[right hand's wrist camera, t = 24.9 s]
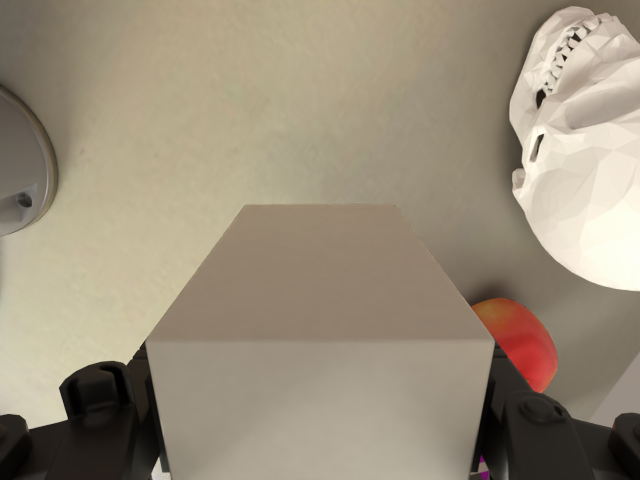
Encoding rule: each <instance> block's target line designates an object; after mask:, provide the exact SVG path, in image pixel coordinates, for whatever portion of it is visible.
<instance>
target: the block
mask: <svg viewBox="0 0 640 480" xmlns="http://www.w3.org/2000/svg"><path fill="white" fill-rule="evenodd" d="M145 345H146V350H147V355H148V361H149V366H150V371H151V376H152V382H153V387H154V392H155V397H156V402H157V408H158V413H159V418H160V423H161V428H162V434H163V439H164V444H165V449H166V455H167V460H168V465H169V470H170V475H171V480H469V478H470V472H471V467H472V462H473V457H474V451H475V446H476V441H477V435H478V430H479V425H480V420H481V414H482V409H483V404H484V399H485V393H486V388H487V383H488V378H489V372H490V367H491V362H492V356H493V351H494V346H495V340H494V338H493V337H492V336H491V334H490V333H489V331H488V330H487V329H486V327H485V326H484V325H483V323H482V322H481V321H480V319H479V318H478V317H477V315H476V314H475V312H474V311H473V310H472V308H471V307H470V306H469V304H468V303H467V302H466V300H465V299H464V298H463V296H462V295H461V294H460V292H459V291H458V289H457V288H456V287H455V285H454V284H453V283H452V281H451V280H450V279H449V277H448V276H447V275H446V273H445V272H444V270H443V269H442V268H441V266H440V265H439V264H438V262H437V261H436V260H435V258H434V257H433V256H432V254H431V253H430V251H429V250H428V249H427V247H426V246H425V245H424V243H423V242H422V241H421V239H420V238H419V237H418V235H417V234H416V233H415V231H414V230H413V228H412V227H411V226H410V224H409V223H408V222H407V220H406V219H405V218H404V216H403V215H402V214H401V212H400V211H399V209H398V208H397V207H396V205H245V206H244V207H243V208H242V210H241V211H240V212H239V214H238V215H237V217H236V218H235V219H234V221H233V222H232V223H231V225H230V226H229V227H228V229H227V230H226V231H225V233H224V234H223V236H222V237H221V238H220V240H219V241H218V242H217V244H216V245H215V246H214V248H213V249H212V250H211V252H210V253H209V255H208V256H207V257H206V259H205V260H204V261H203V263H202V264H201V265H200V267H199V268H198V269H197V271H196V272H195V274H194V275H193V276H192V278H191V279H190V280H189V282H188V283H187V284H186V286H185V287H184V289H183V290H182V291H181V293H180V294H179V295H178V297H177V298H176V299H175V301H174V302H173V303H172V305H171V306H170V308H169V309H168V310H167V312H166V313H165V314H164V316H163V317H162V318H161V320H160V321H159V322H158V324H157V325H156V327H155V328H154V329H153V331H152V332H151V333H150V335H149V336H148V337H147V339H146V341H145Z"/></svg>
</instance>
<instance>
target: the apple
mask: <svg viewBox="0 0 640 480" xmlns="http://www.w3.org/2000/svg"><path fill="white" fill-rule="evenodd" d="M471 308H472V310H473V311H474V312H475V314H476V315H477V317H478V318H479V319H480V321H481V322H482V323H483V325H484V326H485V327H486V329H487V330H488V331H489V333H490V334H492V335H493V337H494V338H495V339H496V341H497V342H498V343H499V345H500V346H501V349H503V350H504V351H505V353H506V354H507V355H508V358H510V360H511V361H512V362H513V364H514V365H515V366H516V368H517V369H518V370H519V372H520V373H521V374H522V376H523V377H524V378H525V380H526V381H527V382H528V384H529V385H530V387H531V388H532V389H533V391H535V392H538V393H542V392H543V391H544V390H545V389H546V388H547V386H548V385H549V383H550V382H551V380H552V378H553V377H554V375H555V373H556V370H557V367H558V357H557V352H556V349H555V346H554V343H553V341H552V339H551V337H550V335H549V333H548V332H547V330H546V329H545V327H544V326H543V324H542V323H541V322H540V321H539V320H538V318H537V317H536V316H535V315H534V314H533V313H532V312H531V311H529V310H528V309H527V308H526V307H524V306H523V305H521V304H519V303H518V302H515V301H513V300H510V299H506V298H494V299H489V300H486V301H483V302H480V303H478V304H475V305H473V306H471Z"/></svg>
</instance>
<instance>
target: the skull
mask: <svg viewBox="0 0 640 480" xmlns="http://www.w3.org/2000/svg"><path fill="white" fill-rule="evenodd" d="M574 32H575V33H576V34H577V35H578V36H579V38H580V39H581V41H580V42H577V41H575V40H573V39H571V38H570V40H569V41H568V38H569V37H572V36H573V35H574ZM569 46H570V47H572V48H574V49H573V50H572V51H571V50H570V49H569V48H568V47H569ZM562 47H563V48H562ZM561 48H562V50H561ZM560 50H561V51H560ZM562 54H563V55H565V56H566V57H567V59H566V61H565V62H564V59H563V56H562ZM560 66H562V67H563V68H560ZM551 72H552V74H551ZM555 77H556V78H558V79H556V78H555ZM547 82H548V85H546V83H547ZM542 89H543V91H544V92H545V93H546V98H544V99H543V101H542V104H541V106H540V108H539V109H538V108H537V104H536V96H537V92H538V91H540V90H542ZM551 89H553V90H551ZM509 116H510V122H511V124H512V126H513V128H514V130H515V132H516V134H517V136H518V138H519V140H520V143H521V145H522V148H523V154H522V164H523V167H524V168H517V169H516V170H515V171H514V172H513V173H512V182H513V189H512V192H513V194H514V196H515V198H516V200H517V201H518V203H519V204H520V205H521V207H522V208H523V210H524V212H525V215H526V219H527V221H528V223H529V225H530V227H531V229H532V231H533V232H534V234H535V235H536V237H537V238H538V240H539V241H540V243H541V245H542V246H543V247H544V248H545V249H546V251H547V252H548V253H549V254H550V255H551V256H552V257H553V258H554V259H555V260H556V261H558V262H559V263H560V264H562V265H563V266H564V267H566V268H567V269H568V270H570V271H571V272H573V273H575V274H576V275H578V276H580V277H582V278H584V279H586V280H588V281H590V282H593V283H596V284H599V285H602V286H606V287H611V288H615V289H622V290H632V291H640V43H638V42H637V41H636V40H635V39H634V38H633V37H632V35H631V34H630V33H629V32H628V30H627V29H626V27H625V26H624V25H623V24H621V23H620V21H619V19H618V18H617V17H616V16H610V15H609V14H608V13H603V14H599V15H596V16H595V15H594V13H593V12H592V11H591V10H590V9H587V8H582V7H575V6H570V7H567V8H565V9H562V10H559V11H556V12H555V13H554V14H553V15H552V16H551V17H550V18H549V19H548V20H547V21H546V22H545V23H543V25H542V26H541V27H540V29H539V30H538V31H537V32H536V34H535V36H534V38H533V41H532V44H531V47H530V50H529V53H528V55H527V58H526V61H525V64H524V66H523V69H522V71H521V74H520V77H519V79H518V82H517V84H516V87H515V90H514V92H513V95H512V97H511V100H510V110H509ZM541 134H544V137H543V139H542V142H541V144H540V146H539V151H538V154H537V155H536V151H537V146H538V136H539V135H541Z"/></svg>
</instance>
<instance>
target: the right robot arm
mask: <svg viewBox="0 0 640 480" xmlns="http://www.w3.org/2000/svg"><path fill="white" fill-rule="evenodd" d="M57 181H58V171H57V163H56V158H55V154H54V151H53V148H52V145H51V143H50V140H49V138H48V136H47V134H46V132H45V131H44V129H43V127H42V126H41V124H40V123H39V121H38V120H37V118H36V117H35V116H34V115H33V113H32V112H31V111H30V110H29V109H28V108H27V107H26V106H25V105H24V104H23V103H22V102H21V101H20V100H19V99H18V98H17V97H16V96H14V95H13V94H12V93H10V92H9V91H8V90H6V89H5V88H3V87H1V86H0V236H4V235H8V234H11V233H14V232H16V231H19V230H21V229H23V228H26V227H28V226H30V225H32V224H33V223H35V222H36V221H38V220H39V219H40V218H41V217H42V216H43V215H44V214H45V213H46V212H47V210H48V209H49V207H50V206H51V203H52V201H53V199H54V196H55V193H56V189H57ZM491 336H492V337H493V335H492V334H491ZM493 338H494V337H493ZM146 339H147V338H146ZM494 340H495V346H494V351H493V356H492V362H491V367H490V372H489V378H488V383H487V388H486V393H485V399H484V404H483V409H482V414H481V420H480V425H479V430H478V435H477V441H476V446H475V451H474V457H473V462H472V467H471V472H478V469H479V464H480V459H481V455H482V457H483V459H484V461H485V464H486V466H487V468H488V470H489V475H488V480H640V414H637V413H624V414H621V415H619V416H618V417H617V418H616V419H615V421H614V424H613V427H612V428H610V427H605V426H601V425H597V424H593V423H589V422H584V421H580V420H577V419H574V418H571V416H570V415H569V413H568V411H567V410H566V409H565V408H564V407H563V406H562V405H561V404H559V403H558V402H557V401H556V400H554V399H552V398H550V397H548V396H546V395H545V394H542V393H538V392H535V391H533V389H532V388H531V387H530V385H529V384H528V382H527V381H526V380H525V378H524V377H523V376H522V374H521V373H520V372H519V370H518V369H517V368H516V366H515V365H514V364H513V362H512V361H511V360H510V358H508V355H507V354H506V353H505V351H504V350H503V349H501V346H500V345H499V343H498V342H497V341H496V339H495V338H494ZM145 341H146V340H145ZM145 341H144V342H143V344H142V345H141V347H140V350H138V351H137V352H136V353H135V355H134V356H133V359H132V360H130V361H129V363H128V364H127V366H126V365H125V364H124V363H121V362H116V361H104V362H99V363H95V364H91V365H88V366H86V367H84V368H82V369H80V370H78V371H76V372H74V373H73V374H72V375H70V376H69V377H68V378H66V379H65V380H64V382H63V383H62V384H61V386H60V387H59V390H60V393H61V397H62V400H63V403H64V407H65V410H66V413H67V417H68V420H65V421H62V422H58V423H54V424H50V425H46V426H41V427H37V428H33V429H28V426H27V423H26V420H25V419H24V418H22V417H21V416H20V415H12V414H7V415H1V416H0V480H152V475H151V473H152V470H153V468H154V466H155V464H156V462H157V459H158V457H160V462H161V467H162V472H170V470H169V465H168V460H167V455H166V449H165V444H164V439H163V434H162V428H161V423H160V418H159V413H158V408H157V402H156V397H155V392H154V387H153V382H152V376H151V371H150V366H149V361H148V355H147V350H146V345H145Z"/></svg>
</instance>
